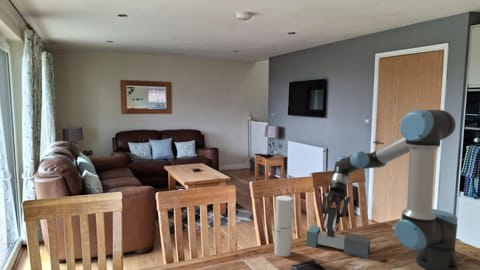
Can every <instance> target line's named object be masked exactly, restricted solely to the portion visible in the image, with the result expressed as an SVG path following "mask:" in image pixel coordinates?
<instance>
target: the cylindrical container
mask: <svg viewBox="0 0 480 270" xmlns="http://www.w3.org/2000/svg"><path fill="white" fill-rule="evenodd" d="M274 214H275V215H274V216H275V218H274V219H275V222H274V254H275V255H276V256H278V257H283V258H284V257H285V258H286V257H289V256H290V255H291V248H292V224H293V223H292V219H293V197H292V196H288V195H277V196H276V197H275V213H274Z"/></svg>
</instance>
